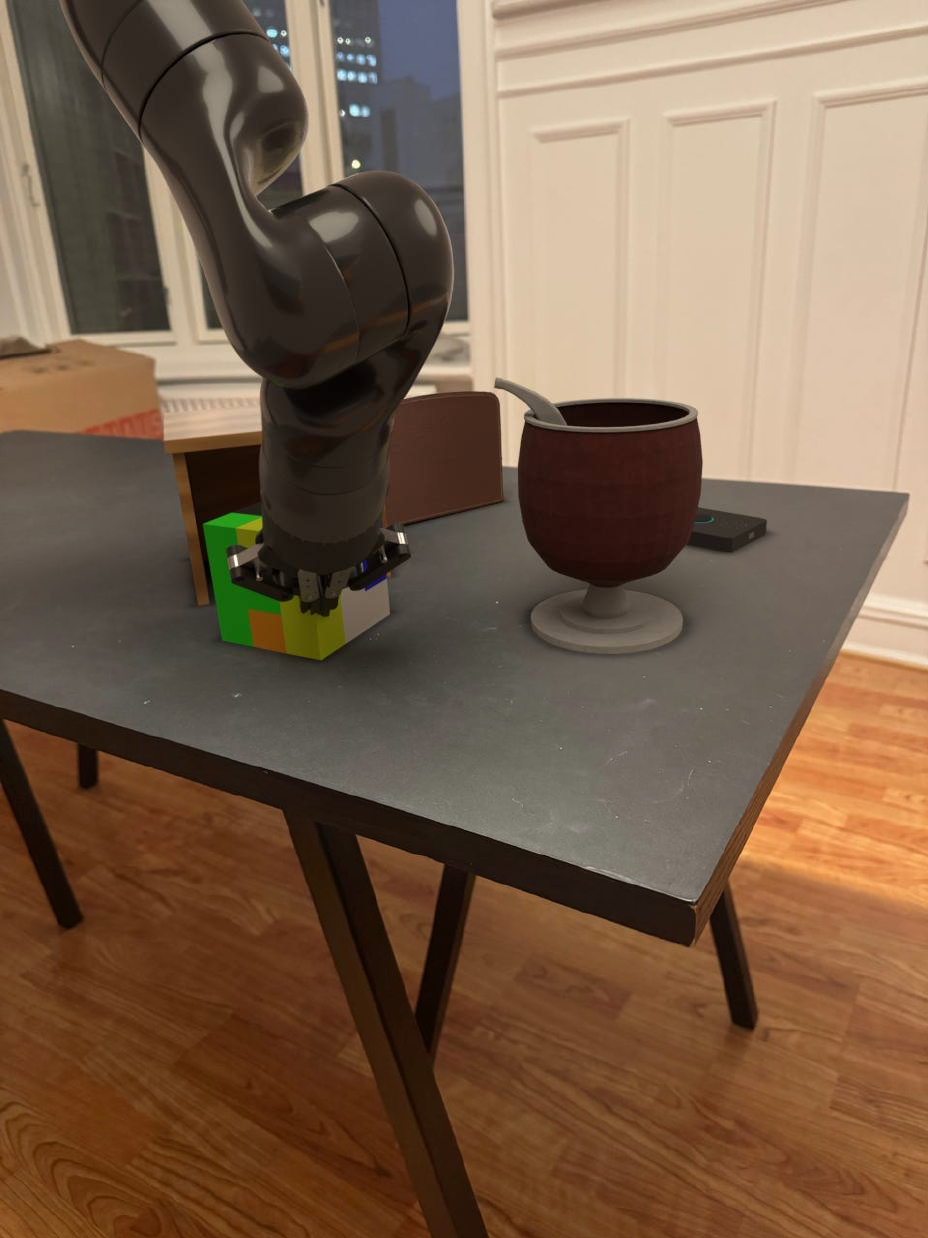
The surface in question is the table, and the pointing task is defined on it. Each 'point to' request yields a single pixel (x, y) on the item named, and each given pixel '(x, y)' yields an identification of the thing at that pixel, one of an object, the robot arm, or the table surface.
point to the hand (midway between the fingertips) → (317, 606)
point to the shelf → (214, 471)
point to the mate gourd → (607, 512)
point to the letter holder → (444, 456)
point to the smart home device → (725, 530)
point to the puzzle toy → (283, 622)
